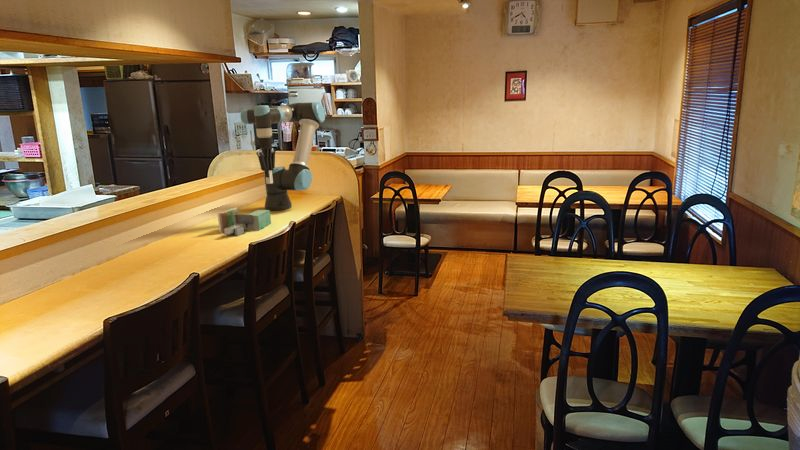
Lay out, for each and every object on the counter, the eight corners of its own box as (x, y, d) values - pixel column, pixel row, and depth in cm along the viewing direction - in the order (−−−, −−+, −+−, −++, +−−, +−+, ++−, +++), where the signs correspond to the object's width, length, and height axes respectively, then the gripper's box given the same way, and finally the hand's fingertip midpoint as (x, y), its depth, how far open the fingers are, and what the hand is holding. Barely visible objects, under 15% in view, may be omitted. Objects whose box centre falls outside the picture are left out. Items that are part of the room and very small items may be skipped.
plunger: (234, 225, 259) (232, 213, 257) (253, 227, 254) (251, 214, 252) (214, 232, 247) (212, 220, 245) (234, 234, 242) (232, 221, 241)
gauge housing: (238, 226, 264) (235, 207, 262) (257, 228, 259) (255, 208, 257) (217, 234, 251) (214, 214, 248) (237, 236, 246) (234, 215, 243)
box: (271, 223, 267) (270, 209, 266) (259, 230, 255) (257, 215, 253) (258, 223, 269) (256, 209, 267) (245, 230, 256) (243, 215, 254)
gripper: (266, 135, 272) (271, 180, 278) (249, 138, 260) (255, 185, 266) (278, 135, 269) (283, 181, 275) (262, 138, 257) (267, 185, 263)
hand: (269, 183), depth 271 cm, fingers closed
